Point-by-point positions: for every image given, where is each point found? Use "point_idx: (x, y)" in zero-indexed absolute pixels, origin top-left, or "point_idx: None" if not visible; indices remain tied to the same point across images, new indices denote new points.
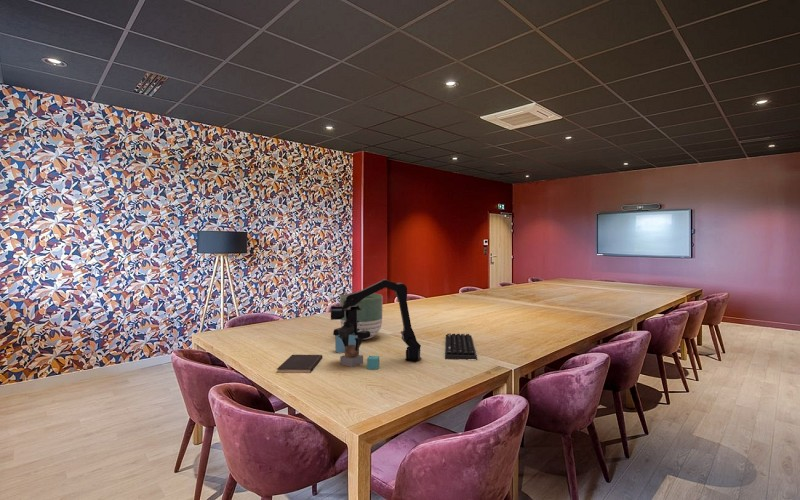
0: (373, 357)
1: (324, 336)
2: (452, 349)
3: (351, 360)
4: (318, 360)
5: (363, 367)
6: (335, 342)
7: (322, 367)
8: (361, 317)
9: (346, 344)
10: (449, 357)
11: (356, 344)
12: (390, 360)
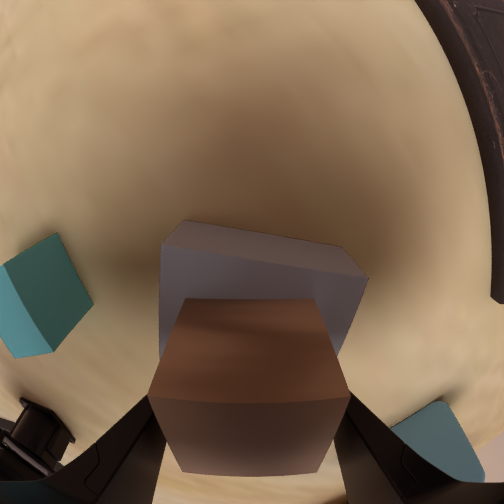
0: (5, 317)
1: (481, 444)
2: None
3: (174, 241)
4: (500, 201)
5: (96, 253)
6: (465, 435)
7: (423, 101)
8: None
9: (352, 449)
10: (8, 424)
11: (109, 455)
12: (90, 408)
